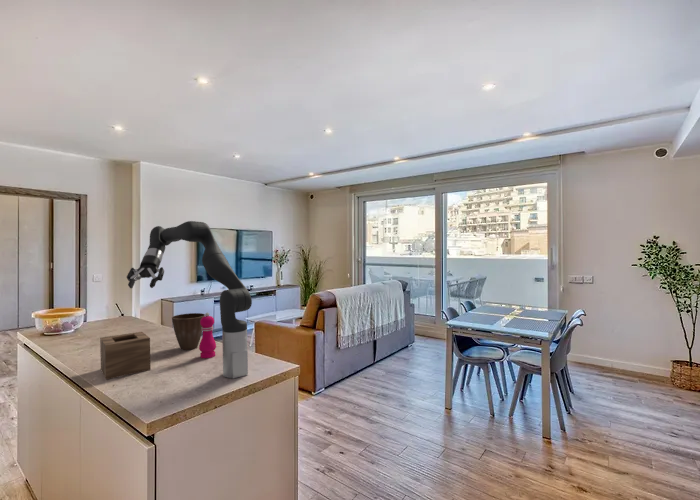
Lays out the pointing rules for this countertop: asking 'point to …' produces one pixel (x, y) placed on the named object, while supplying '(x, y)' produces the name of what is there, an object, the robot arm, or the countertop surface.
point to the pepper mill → (207, 337)
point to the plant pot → (188, 330)
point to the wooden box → (125, 354)
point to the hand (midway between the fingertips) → (140, 287)
